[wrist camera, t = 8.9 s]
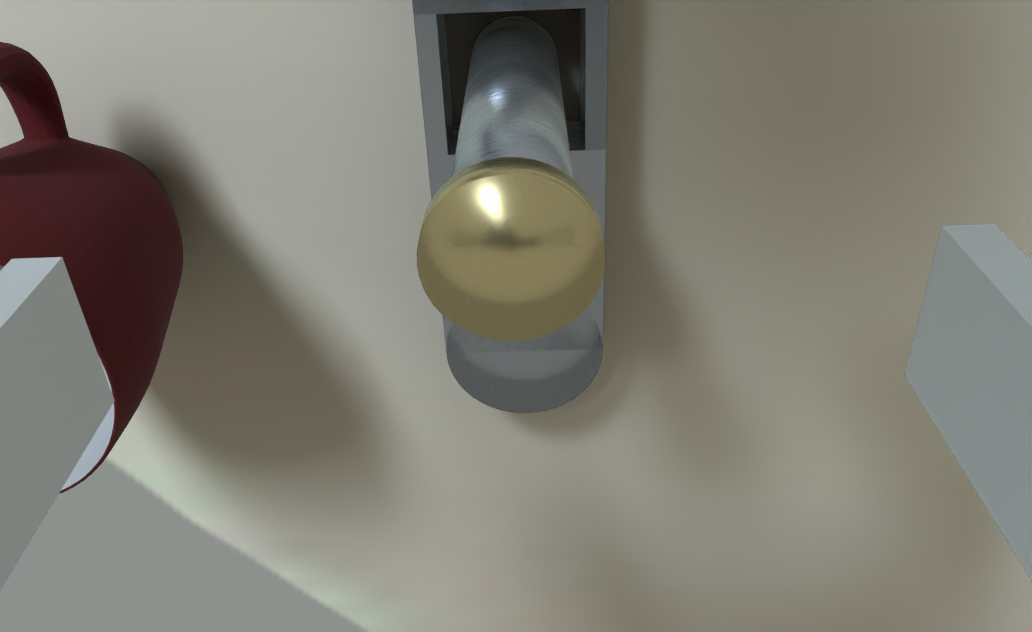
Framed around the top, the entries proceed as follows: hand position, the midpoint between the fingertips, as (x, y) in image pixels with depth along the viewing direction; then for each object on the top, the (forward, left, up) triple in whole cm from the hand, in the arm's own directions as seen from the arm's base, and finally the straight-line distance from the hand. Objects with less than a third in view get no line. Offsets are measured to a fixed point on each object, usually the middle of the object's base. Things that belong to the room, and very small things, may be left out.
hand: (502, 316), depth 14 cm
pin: (0, 0, -15) cm, 15 cm away
